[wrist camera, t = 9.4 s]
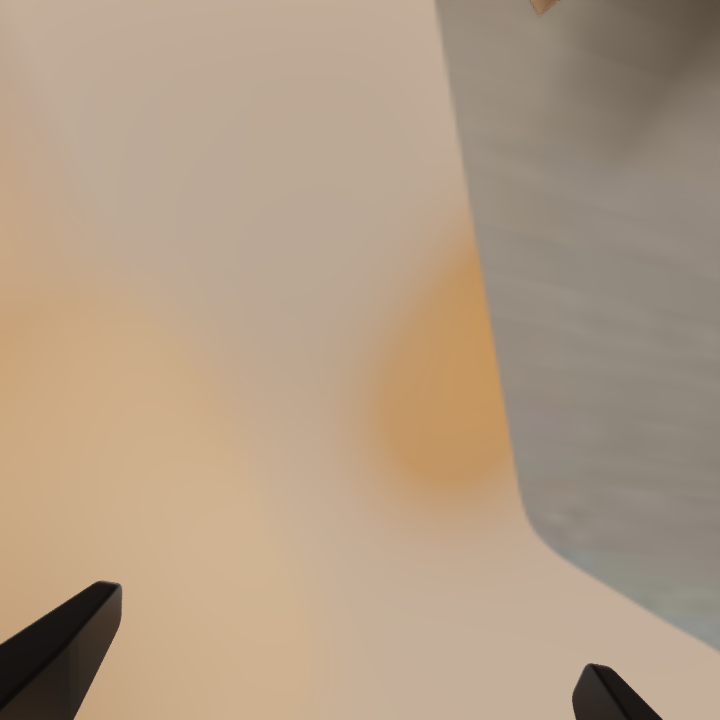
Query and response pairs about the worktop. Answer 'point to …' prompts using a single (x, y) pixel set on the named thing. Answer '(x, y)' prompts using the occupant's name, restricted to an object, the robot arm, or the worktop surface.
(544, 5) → the walnut slab
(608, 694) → the robot arm
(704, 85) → the worktop surface
